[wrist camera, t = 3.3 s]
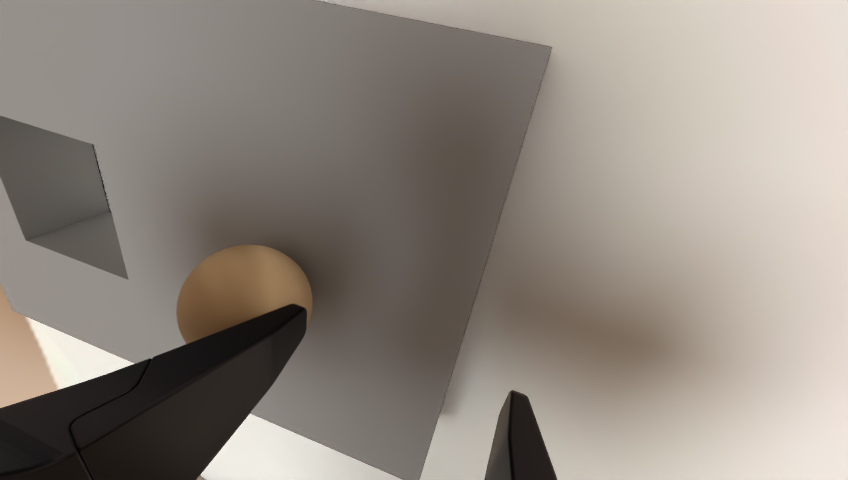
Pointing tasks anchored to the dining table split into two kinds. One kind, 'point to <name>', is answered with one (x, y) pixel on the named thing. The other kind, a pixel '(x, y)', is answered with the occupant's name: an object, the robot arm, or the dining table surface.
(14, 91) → the grey flat block
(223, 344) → the robot arm
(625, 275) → the dining table surface
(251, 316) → the ball
